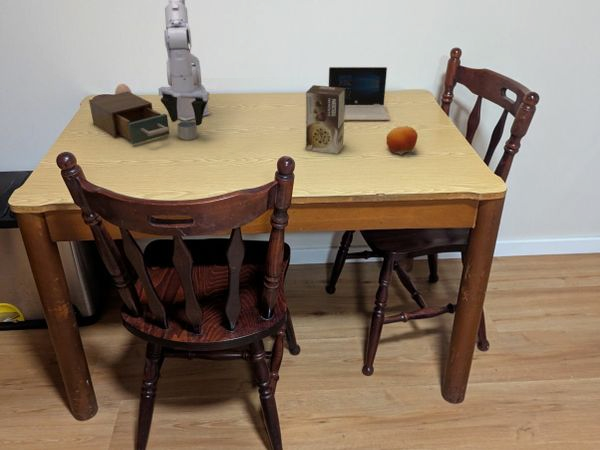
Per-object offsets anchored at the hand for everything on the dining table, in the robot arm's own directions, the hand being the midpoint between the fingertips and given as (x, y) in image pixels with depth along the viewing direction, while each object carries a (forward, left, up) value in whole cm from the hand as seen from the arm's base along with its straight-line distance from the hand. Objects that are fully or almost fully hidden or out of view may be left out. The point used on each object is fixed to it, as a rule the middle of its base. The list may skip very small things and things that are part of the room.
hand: (186, 122), depth 156 cm
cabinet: (+9, -20, -4) cm, 23 cm away
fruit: (-38, +46, -4) cm, 60 cm away
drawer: (+10, -8, -3) cm, 13 cm away
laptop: (-50, +19, -4) cm, 53 cm away
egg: (0, -37, -4) cm, 37 cm away
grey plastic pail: (0, 0, -4) cm, 4 cm away
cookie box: (-24, +31, -4) cm, 39 cm away
